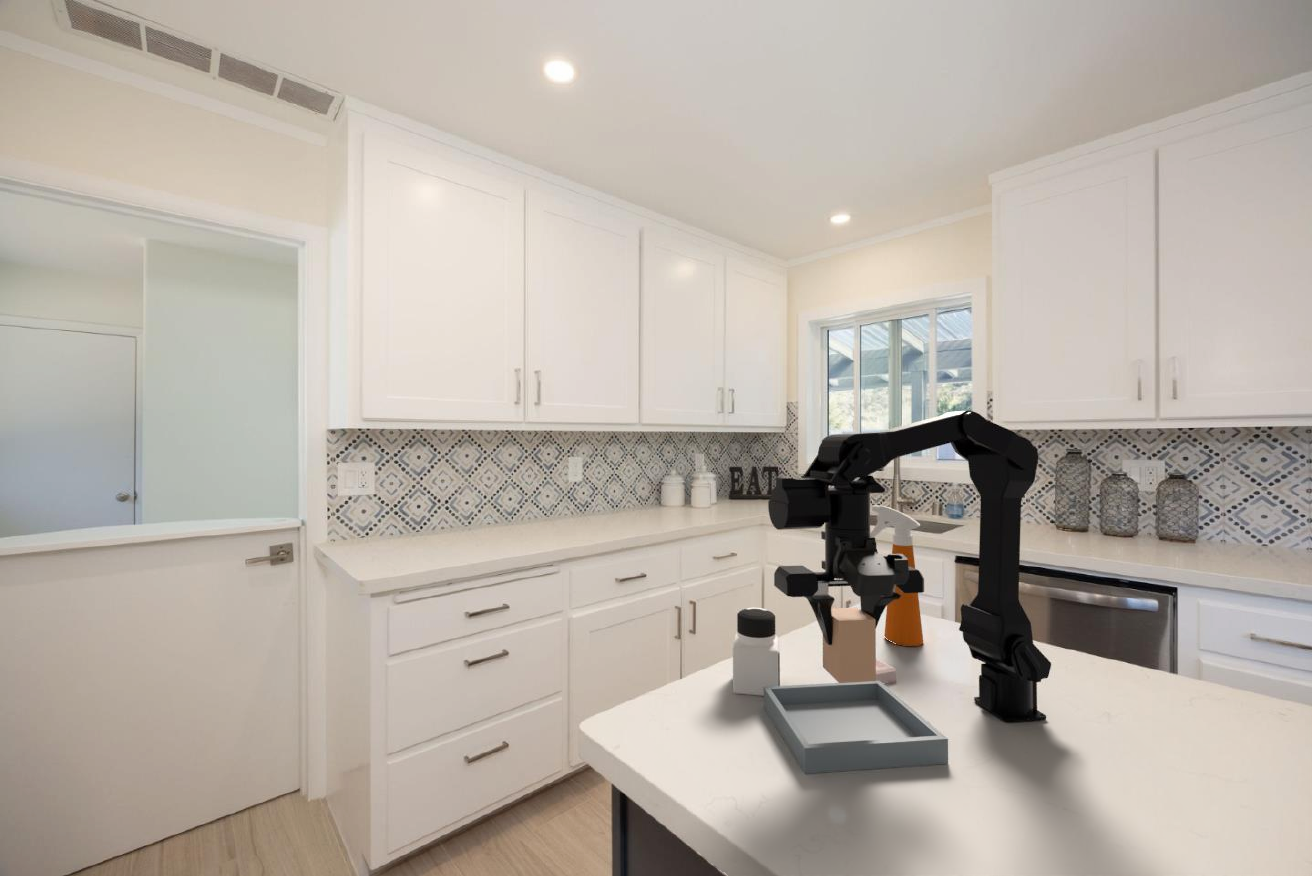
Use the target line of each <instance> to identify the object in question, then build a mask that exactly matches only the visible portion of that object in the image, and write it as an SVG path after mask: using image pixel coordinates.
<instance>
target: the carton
mask: <svg viewBox="0 0 1312 876" xmlns="http://www.w3.org/2000/svg"><path fill="white" fill-rule="evenodd" d="M831 614H832V631H833V638H832V645H828V644H827V643H826V641H825V639H824V636H823V635H822V668H823V669H824V670H825V671H826V672H827V673H828V674H830V676H831V677H832V678H833V679H834V680H836V682H837V683H849V682H868V681H876V659H877V658H876V657H877V656H876V655H877V652H876V650H877V644H876V643H877V642H876V641H877V635H876V633H877V632H876V629H877V627H876V619H874V618H873V617H871V616H869V615H868V614H866V613H865V612H863V611H862V610H861V608H858V607H839V608H837V607H836V608H834V607H833V608H831Z"/></svg>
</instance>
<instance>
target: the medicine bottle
mask: <svg viewBox="0 0 1312 876" xmlns="http://www.w3.org/2000/svg"><path fill="white" fill-rule="evenodd" d="M736 614H737V615H736V617H737V618H736V620H737V621H736V624H737V626H736V627H737V629H736V631H737V632H736V633H735V634H734V641H733V647H732V691H733V693H734V694H737V695H748V696H762V697H764V687H771V686H781V682H780V681H781V680H780V679H781V676H780V674H781V673H780V672H781V671H780V669H781V668H780V662H781V661H780V658H781V657H780V641H779V640H780V639H779V636H778V635H776V615H775V614H774V613H773V612H772V611H770V610H769V609H767V608H761V607H747V608H744V609H741V610H740V611H739V612H738V613H736Z"/></svg>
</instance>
